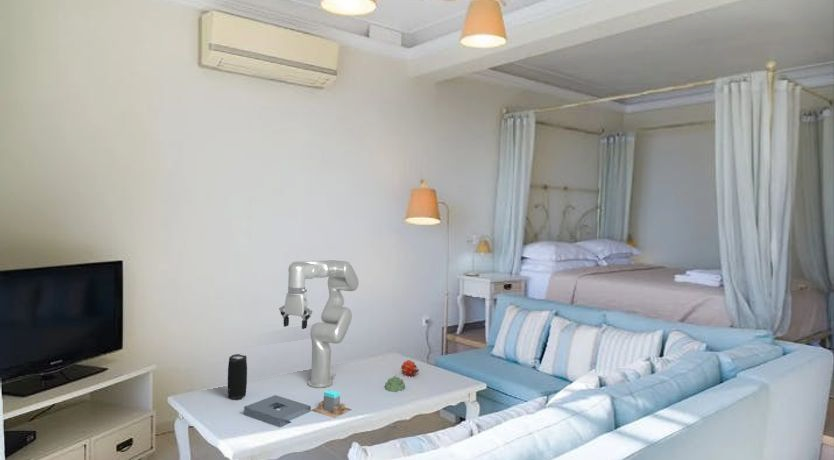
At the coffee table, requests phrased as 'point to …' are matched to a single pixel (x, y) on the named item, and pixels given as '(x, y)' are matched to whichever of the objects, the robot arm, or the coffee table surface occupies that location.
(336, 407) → the brown holder base
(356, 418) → the coffee table surface
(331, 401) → the plug
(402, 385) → the decorative artifact
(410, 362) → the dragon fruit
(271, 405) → the port
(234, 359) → the portable speaker
